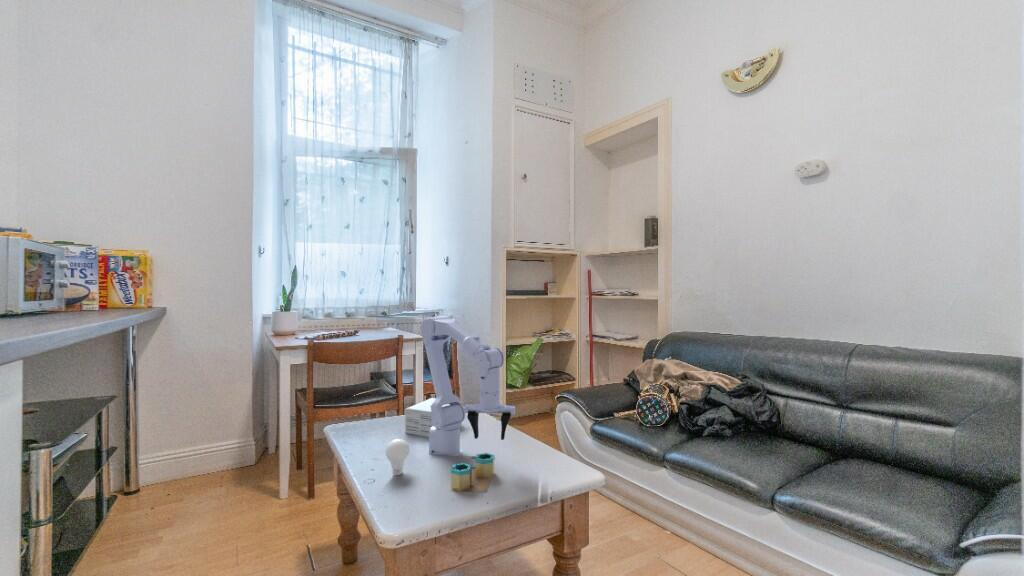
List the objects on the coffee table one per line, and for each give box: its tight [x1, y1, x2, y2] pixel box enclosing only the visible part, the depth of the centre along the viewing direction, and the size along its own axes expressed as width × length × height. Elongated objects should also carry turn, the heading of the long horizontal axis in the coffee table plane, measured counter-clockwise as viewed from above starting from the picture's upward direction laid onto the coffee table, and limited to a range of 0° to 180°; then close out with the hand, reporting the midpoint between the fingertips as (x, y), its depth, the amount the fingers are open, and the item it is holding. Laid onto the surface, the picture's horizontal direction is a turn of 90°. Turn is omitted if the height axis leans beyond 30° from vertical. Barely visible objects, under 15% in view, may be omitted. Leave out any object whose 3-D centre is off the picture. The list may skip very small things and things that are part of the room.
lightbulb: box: [385, 438, 410, 477], centre depth 122 cm, size 6×6×11 cm
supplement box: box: [404, 397, 450, 438], centre depth 164 cm, size 17×13×9 cm
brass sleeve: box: [474, 452, 495, 479], centre depth 121 cm, size 5×6×5 cm
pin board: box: [451, 469, 492, 494], centre depth 117 cm, size 9×13×6 cm
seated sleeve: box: [450, 462, 473, 492], centre depth 114 cm, size 5×6×5 cm
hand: (489, 438), depth 126 cm, fingers open, 7 cm apart
